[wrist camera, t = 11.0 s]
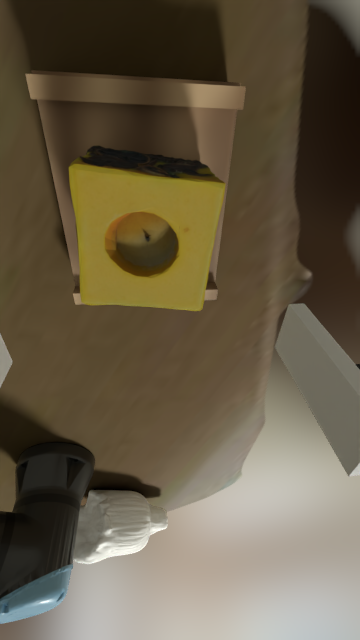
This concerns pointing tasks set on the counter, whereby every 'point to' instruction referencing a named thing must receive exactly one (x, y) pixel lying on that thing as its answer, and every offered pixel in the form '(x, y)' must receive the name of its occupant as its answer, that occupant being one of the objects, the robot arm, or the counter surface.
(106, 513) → the mask
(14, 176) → the counter surface
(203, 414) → the counter surface
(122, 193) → the candle
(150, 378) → the counter surface
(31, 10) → the counter surface
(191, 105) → the display stand
